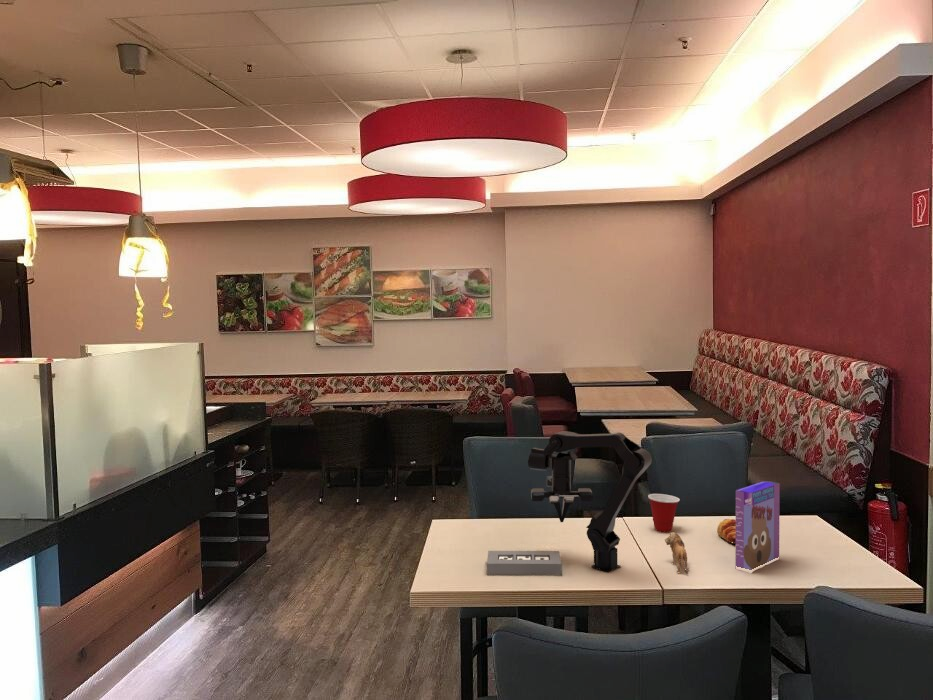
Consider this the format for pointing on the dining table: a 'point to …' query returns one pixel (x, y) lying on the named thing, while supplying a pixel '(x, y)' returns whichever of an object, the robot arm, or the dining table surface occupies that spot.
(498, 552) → the tile board
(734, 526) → the croissant
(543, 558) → the tile one
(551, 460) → the robot arm
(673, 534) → the lion figurine
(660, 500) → the plastic cup
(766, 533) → the cereal box
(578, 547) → the dining table surface
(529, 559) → the tile two
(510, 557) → the tile three
